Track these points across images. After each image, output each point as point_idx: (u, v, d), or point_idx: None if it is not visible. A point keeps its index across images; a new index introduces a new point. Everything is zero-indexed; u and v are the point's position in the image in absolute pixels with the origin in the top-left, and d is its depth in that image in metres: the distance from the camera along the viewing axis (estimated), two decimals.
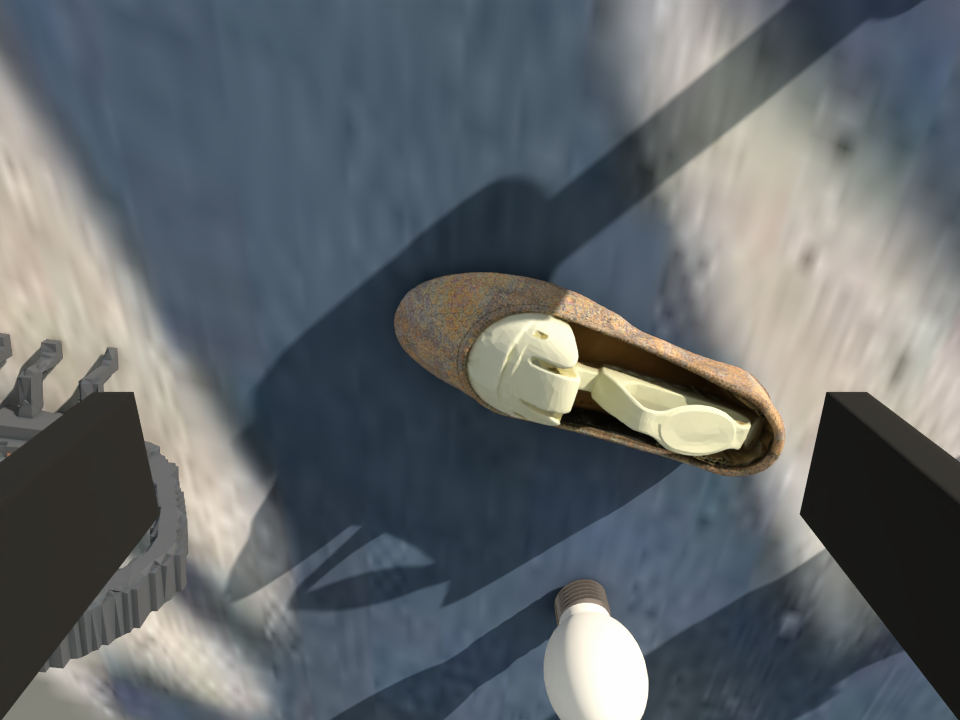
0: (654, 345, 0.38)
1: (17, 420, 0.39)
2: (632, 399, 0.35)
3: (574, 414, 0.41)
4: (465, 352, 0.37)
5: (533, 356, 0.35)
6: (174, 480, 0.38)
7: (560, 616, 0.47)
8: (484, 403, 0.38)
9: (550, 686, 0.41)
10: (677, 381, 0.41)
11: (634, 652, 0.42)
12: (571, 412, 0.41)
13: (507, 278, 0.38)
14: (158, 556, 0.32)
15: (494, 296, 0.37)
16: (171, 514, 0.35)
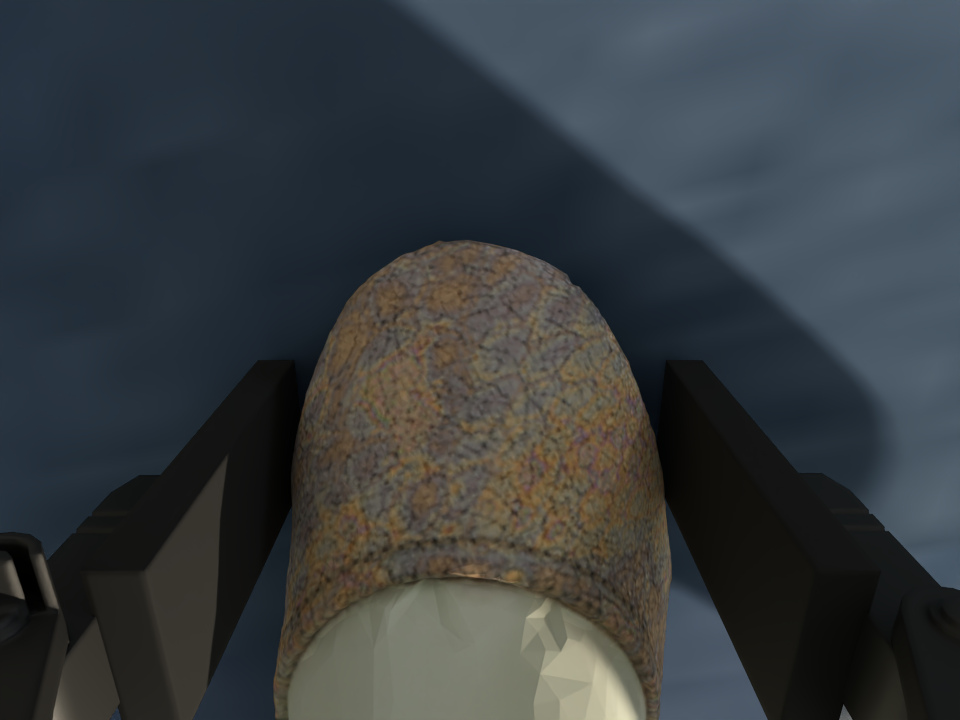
0: None
1: None
2: None
3: None
4: (461, 574, 0.10)
5: None
6: None
7: None
8: (294, 658, 0.11)
9: None
10: None
11: None
12: None
13: (664, 532, 0.13)
14: None
15: (639, 550, 0.12)
16: None
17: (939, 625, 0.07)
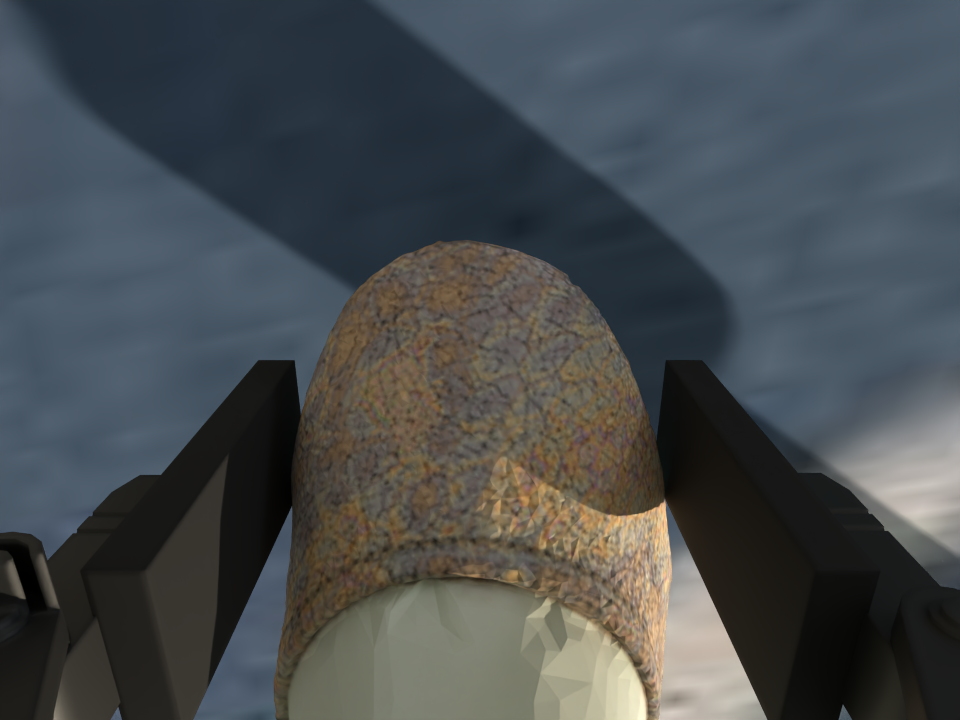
0: None
1: None
2: None
3: None
4: (461, 574, 0.10)
5: None
6: None
7: None
8: (294, 658, 0.11)
9: None
10: None
11: None
12: None
13: (664, 532, 0.13)
14: None
15: (639, 551, 0.12)
16: None
17: (940, 625, 0.07)
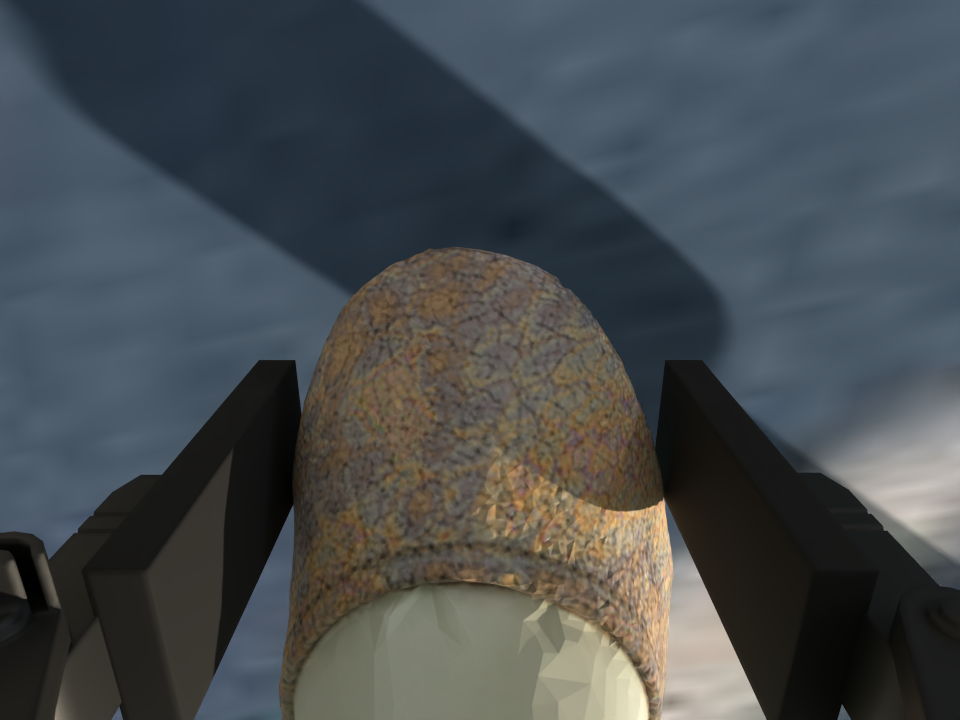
0: None
1: None
2: None
3: None
4: (458, 579, 0.10)
5: None
6: None
7: None
8: (297, 664, 0.11)
9: None
10: None
11: None
12: None
13: (664, 531, 0.13)
14: None
15: (637, 550, 0.12)
16: None
17: (937, 624, 0.07)
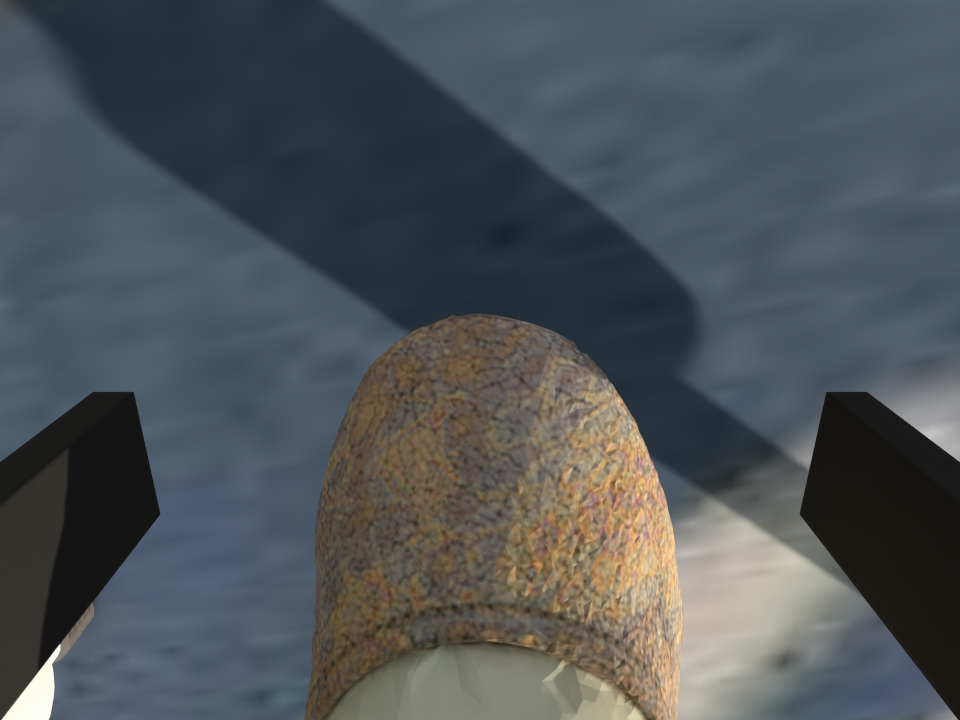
0: None
1: None
2: None
3: None
4: (480, 639, 0.11)
5: None
6: None
7: None
8: (321, 718, 0.11)
9: None
10: None
11: None
12: None
13: (675, 585, 0.14)
14: None
15: (650, 607, 0.12)
16: None
17: None
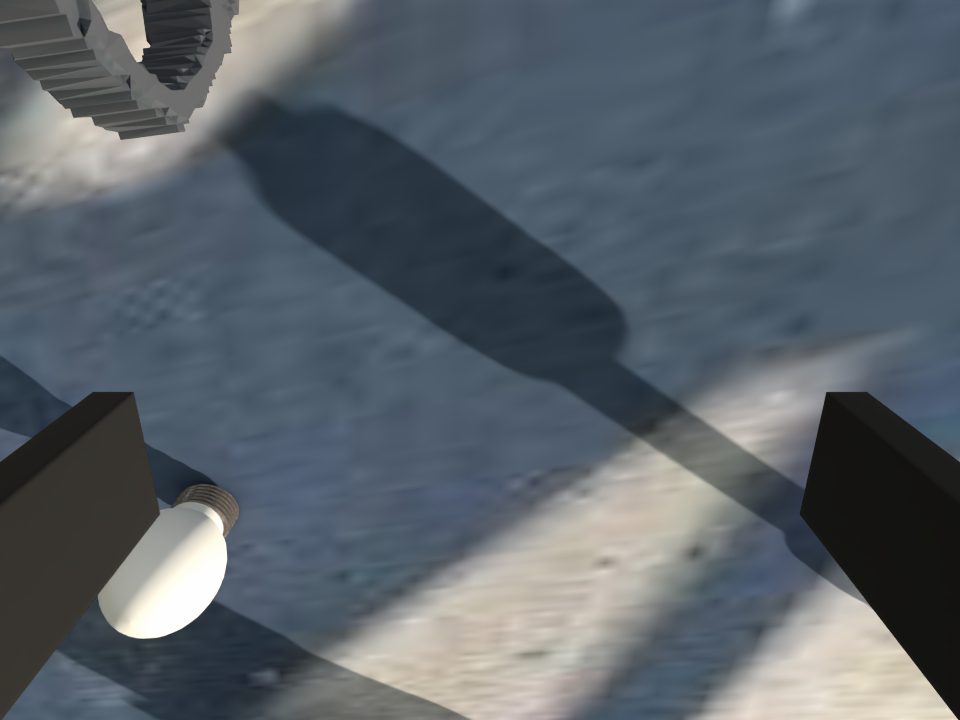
0: None
1: None
2: None
3: None
4: None
5: None
6: (221, 60, 0.29)
7: (192, 501, 0.43)
8: None
9: None
10: None
11: (214, 596, 0.40)
12: None
13: None
14: (173, 109, 0.24)
15: None
16: (202, 87, 0.27)
17: None
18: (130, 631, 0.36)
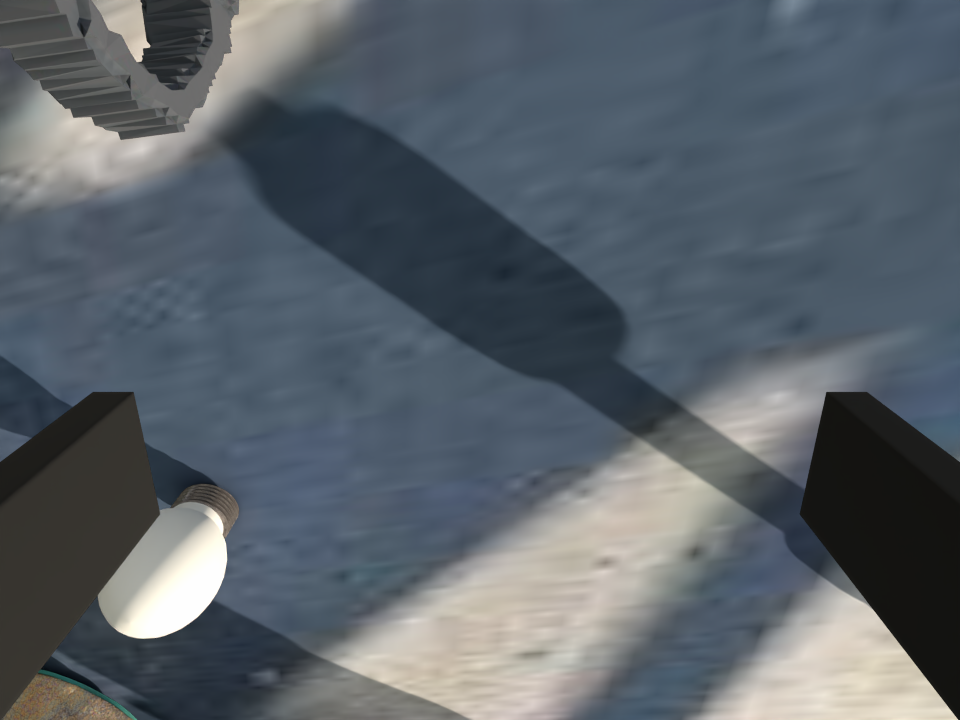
0: None
1: None
2: None
3: None
4: None
5: None
6: (221, 60, 0.29)
7: (192, 501, 0.43)
8: None
9: None
10: None
11: (214, 596, 0.40)
12: None
13: (80, 696, 0.50)
14: (173, 109, 0.24)
15: (57, 714, 0.49)
16: (202, 87, 0.27)
17: None
18: (130, 631, 0.36)
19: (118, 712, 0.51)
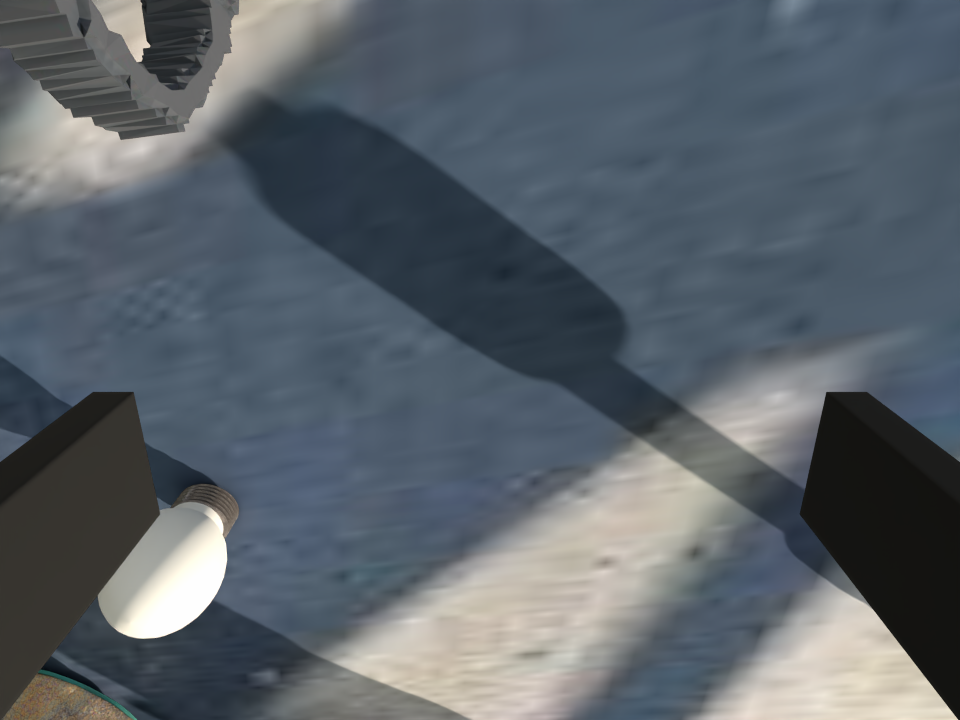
0: None
1: None
2: None
3: None
4: None
5: None
6: (221, 60, 0.29)
7: (192, 501, 0.43)
8: None
9: None
10: None
11: (214, 596, 0.40)
12: None
13: (80, 696, 0.50)
14: (173, 109, 0.24)
15: (57, 713, 0.49)
16: (202, 87, 0.27)
17: None
18: (130, 631, 0.36)
19: (118, 712, 0.51)
